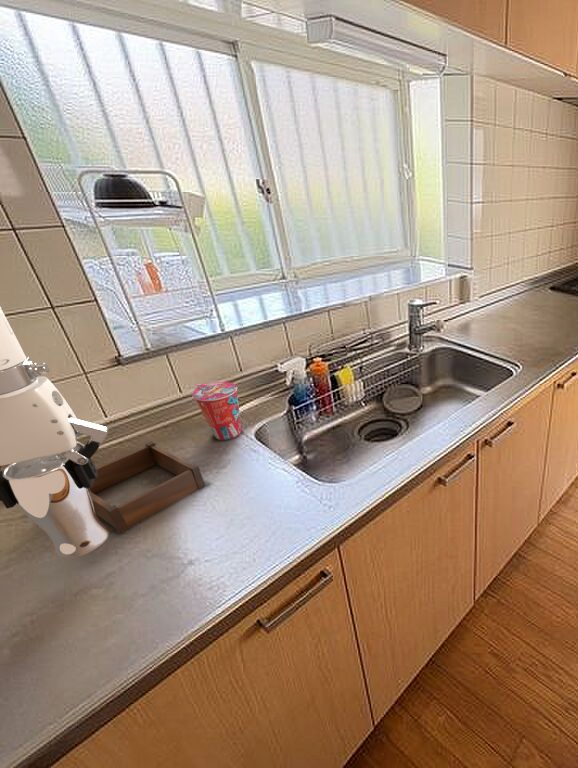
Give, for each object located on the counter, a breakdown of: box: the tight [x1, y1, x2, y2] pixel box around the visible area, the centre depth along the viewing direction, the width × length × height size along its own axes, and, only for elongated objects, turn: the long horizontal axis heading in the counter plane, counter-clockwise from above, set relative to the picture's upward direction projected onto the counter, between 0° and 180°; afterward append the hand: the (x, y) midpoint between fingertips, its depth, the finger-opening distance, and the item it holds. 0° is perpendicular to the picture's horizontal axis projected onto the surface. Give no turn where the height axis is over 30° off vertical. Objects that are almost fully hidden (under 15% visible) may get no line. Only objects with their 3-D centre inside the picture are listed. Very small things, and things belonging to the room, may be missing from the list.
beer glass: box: [2, 454, 110, 560], centre depth 60 cm, size 7×7×15 cm
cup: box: [191, 381, 242, 441], centre depth 96 cm, size 9×8×12 cm
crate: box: [90, 440, 206, 534], centre depth 79 cm, size 16×14×5 cm
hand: (53, 491), depth 59 cm, fingers closed on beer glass, 7 cm apart
